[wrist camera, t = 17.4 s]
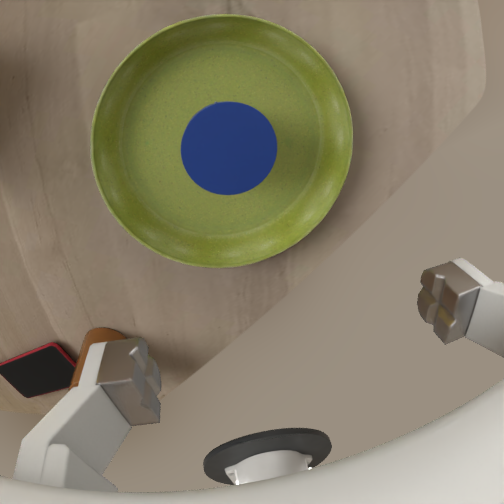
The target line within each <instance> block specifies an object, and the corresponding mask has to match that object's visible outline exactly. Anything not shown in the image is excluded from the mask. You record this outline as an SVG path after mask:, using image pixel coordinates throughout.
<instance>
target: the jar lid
mask: <svg viewBox="0 0 504 504" xmlns="http://www.w3.org/2000/svg"><path fill="white" fill-rule="evenodd" d="M276 156H277V139H276V135H275V131H274V129H273V127H272V125H271V124H270V122H269V120H268V119H267V118H266V117H265V116H264V115H263V114H262V113H261V112H260V111H258V110H257V109H255V108H253V107H251V106H249V105H247V104H244V103H239V102H231V101H224V102H214V103H213V104H210V105H208V106H206V107H204V108H203V109H201V110H200V111H198V112H197V113H196V114H195V115H194V116H193V117H192V118H191V120H190V121H189V123H188V124H187V127H186V129H185V131H184V134H183V137H182V141H181V159H182V163H183V165H184V168H185V170H186V172H187V174H188V175H189V176H190V178H191V179H192V180H193V181H194V182H195V183H196V184H197V185H198V186H200V187H201V188H203V189H205V190H207V191H209V192H211V193H215V194H219V195H236V194H241V193H244V192H247V191H249V190H251V189H253V188H254V187H256V186H257V185H259V184H260V183H261V182H262V181H263V180H264V179H265V178H266V177H267V176H268V174H269V173H270V171H271V169H272V168H273V165H274V163H275V160H276Z"/></svg>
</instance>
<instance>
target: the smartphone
mask: <svg viewBox="0 0 504 504" xmlns="http://www.w3.org/2000/svg"><path fill="white" fill-rule="evenodd" d="M75 366H76V363H75V362H74V361H73V360H72V359H71V358H70V357H69V356H68V355H67V354H66V353H65V351H64V350H63V349H62V348H61V347H60V346H59V345H58V344H56V343H54V342H51V343H49V344H46V345H44V346H41V347H39V348H36V349H34V350H32V351H29V352H27V353H24V354H22V355H19V356H17V357H14V358H12V359H9V360H7V361H5V362H2V363H0V374H1V375H2V376H3V377H4V378H5V379H6V380H7V381H8V382H9V383H10V384H11V385H12V386H13V387H14V388H15V389H16V390H17V391H18V392H20V393H21V394H22V395H23V396H24V397H26V398H31V397H35V396H39V395H43V394H47V393H50V392H54V391H58V390H62V389H65V388H69V387H70V383H71V379H72V376H73V373H74V369H75Z"/></svg>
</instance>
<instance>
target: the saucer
mask: <svg viewBox="0 0 504 504" xmlns="http://www.w3.org/2000/svg"><path fill="white" fill-rule="evenodd" d="M224 101H231V102H239V103H244V104H247V105H249V106H251V107H253V108H255V109H257V110H258V111H260V112H261V113H262V114H263V115H264V116H265V117H266V118H267V119H268V120H269V122H270V124H271V125H272V127H273V129H274V131H275V135H276V139H277V156H276V160H275V163H274V165H273V168H272V169H271V171H270V173H269V174H268V176H267V177H266V178H265V179H264V180H263V181H262V182H261V183H260V184H259V185H257V186H256V187H254V188H253V189H251V190H249V191H247V192H244V193H241V194H236V195H219V194H215V193H211V192H209V191H207V190H205V189H203V188H201V187H200V186H198V185H197V184H196V183H195V182H194V181H193V180H192V179H191V178H190V176H189V175H188V174H187V172H186V170H185V168H184V165H183V163H182V159H181V141H182V137H183V134H184V131H185V129H186V127H187V124H188V123H189V121H190V120H191V118H192V117H193V116H194V115H195V114H196V113H197V112H198V111H200V110H201V109H203V108H204V107H206V106H208V105H210V104H213V103H214V102H224ZM352 149H353V125H352V118H351V112H350V108H349V104H348V101H347V98H346V95H345V93H344V90H343V88H342V86H341V84H340V82H339V80H338V78H337V76H336V75H335V73H334V71H333V70H332V69H331V67H330V66H329V64H328V63H327V62H326V61H325V59H324V58H323V57H322V56H321V55H320V54H319V53H318V52H317V51H316V50H315V49H314V48H313V47H312V46H311V45H310V44H308V43H307V42H306V41H305V40H303V39H302V38H301V37H299V36H298V35H296V34H295V33H293V32H291V31H289V30H288V29H286V28H284V27H282V26H280V25H277V24H275V23H272V22H269V21H266V20H263V19H260V18H256V17H251V16H244V15H236V14H215V15H206V16H200V17H195V18H191V19H187V20H184V21H181V22H178V23H175V24H173V25H170V26H168V27H166V28H164V29H162V30H160V31H158V32H156V33H155V34H153V35H152V36H150V37H149V38H147V39H146V40H144V41H143V42H142V43H140V44H139V45H138V46H137V47H135V48H134V49H133V50H132V51H131V52H130V53H129V54H128V55H127V56H126V57H125V58H124V59H123V61H122V62H121V63H120V64H119V65H118V67H117V68H116V69H115V71H114V72H113V74H112V75H111V77H110V78H109V80H108V82H107V83H106V85H105V87H104V89H103V91H102V93H101V95H100V98H99V100H98V103H97V106H96V109H95V112H94V116H93V121H92V126H91V136H90V154H91V162H92V168H93V173H94V178H95V181H96V184H97V187H98V189H99V192H100V194H101V196H102V198H103V200H104V202H105V204H106V206H107V207H108V209H109V211H110V212H111V214H112V215H113V216H114V218H115V219H116V220H117V222H118V223H119V224H120V225H121V226H122V227H123V228H124V229H125V230H126V231H127V232H128V233H129V234H130V235H131V236H132V237H133V238H134V239H136V240H137V241H138V242H139V243H141V244H142V245H144V246H145V247H147V248H148V249H150V250H152V251H153V252H155V253H157V254H159V255H161V256H163V257H166V258H168V259H170V260H173V261H176V262H179V263H183V264H187V265H191V266H197V267H205V268H229V267H238V266H244V265H249V264H253V263H256V262H259V261H262V260H265V259H268V258H270V257H272V256H274V255H277V254H279V253H281V252H283V251H285V250H286V249H288V248H290V247H291V246H293V245H294V244H296V243H297V242H299V241H300V240H301V239H303V238H304V237H305V236H307V235H308V234H309V233H310V232H311V231H312V230H313V229H314V228H315V227H316V226H317V225H318V224H319V223H320V222H321V221H322V220H323V218H324V217H325V216H326V215H327V213H328V212H329V210H330V209H331V207H332V206H333V204H334V203H335V201H336V199H337V197H338V195H339V193H340V191H341V189H342V187H343V185H344V182H345V180H346V177H347V174H348V170H349V167H350V163H351V157H352Z"/></svg>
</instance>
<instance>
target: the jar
mask: <svg viewBox="0 0 504 504" xmlns="http://www.w3.org/2000/svg"><path fill="white" fill-rule="evenodd" d="M122 339H127V338H126V337H125V336H123V335H122V334H121V333H119V332H117V331H115V330H112V329H109V328H95V329H92V330H90V331H89V332H88V333H87V334H86V335H85V338H84V341H83V344H82V347H81V350H80V353H79V356H78V359H77V363H76V366H75V369H74V373H73V376H72V379H71V383H70V387H69V391H70V390H71V389H72V388H73V387H78V384H79V381H80V377H81V374H82V370H83V367H84V364H85V360H86V357H87V354H88V351H89V348H90V346H91V345H92V344H93V343H101V342H108V341H115V340H122Z"/></svg>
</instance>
